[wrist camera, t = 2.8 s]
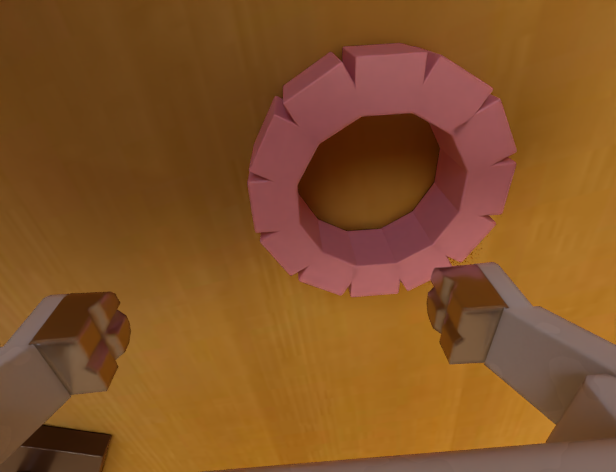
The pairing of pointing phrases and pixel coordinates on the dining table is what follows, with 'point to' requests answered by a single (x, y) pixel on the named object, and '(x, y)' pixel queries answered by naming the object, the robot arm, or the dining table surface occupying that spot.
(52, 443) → the stand
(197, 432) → the dining table surface
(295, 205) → the ring
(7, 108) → the dining table surface
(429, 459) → the robot arm
